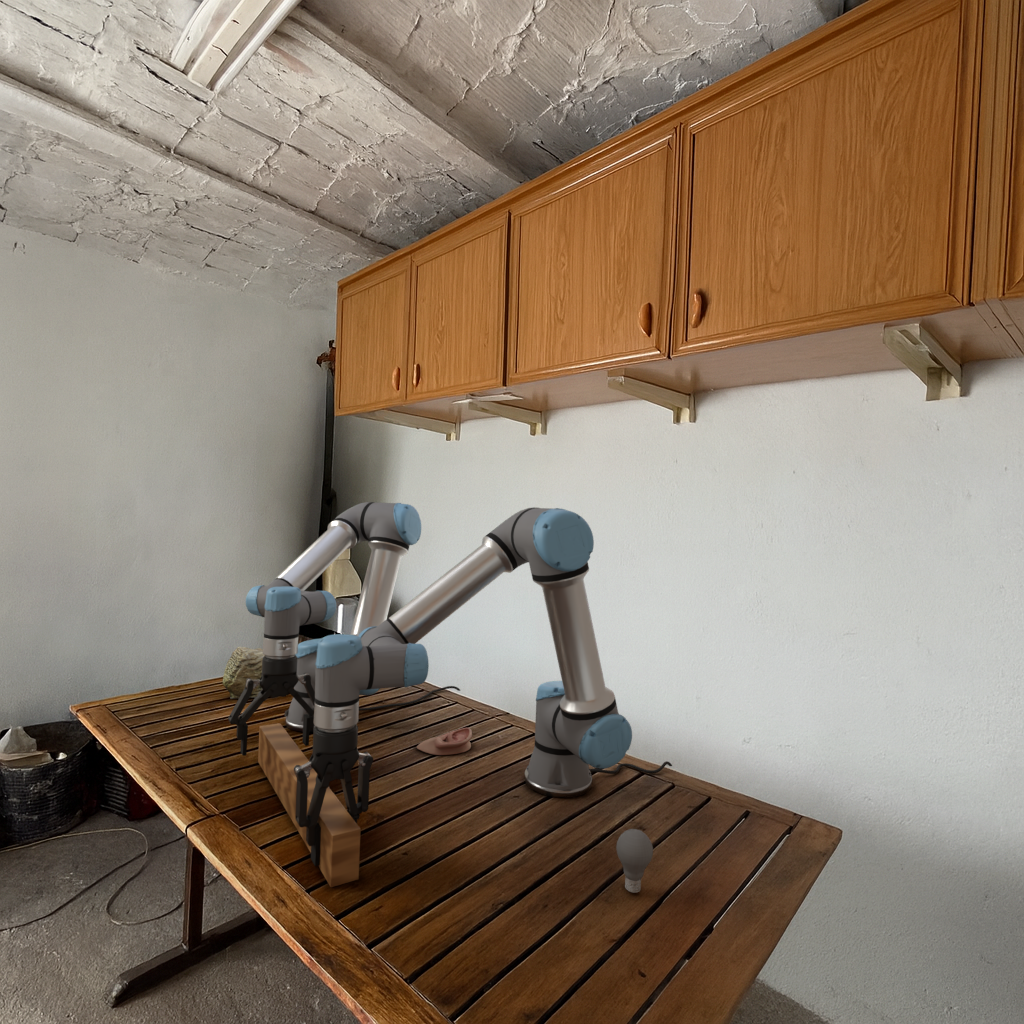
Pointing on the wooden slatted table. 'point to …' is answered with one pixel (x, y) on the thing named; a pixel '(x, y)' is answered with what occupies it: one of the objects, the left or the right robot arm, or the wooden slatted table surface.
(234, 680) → the fossil
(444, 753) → the anatomical model
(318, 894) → the wooden slatted table surface
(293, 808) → the post
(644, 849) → the light bulb
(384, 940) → the wooden slatted table surface
